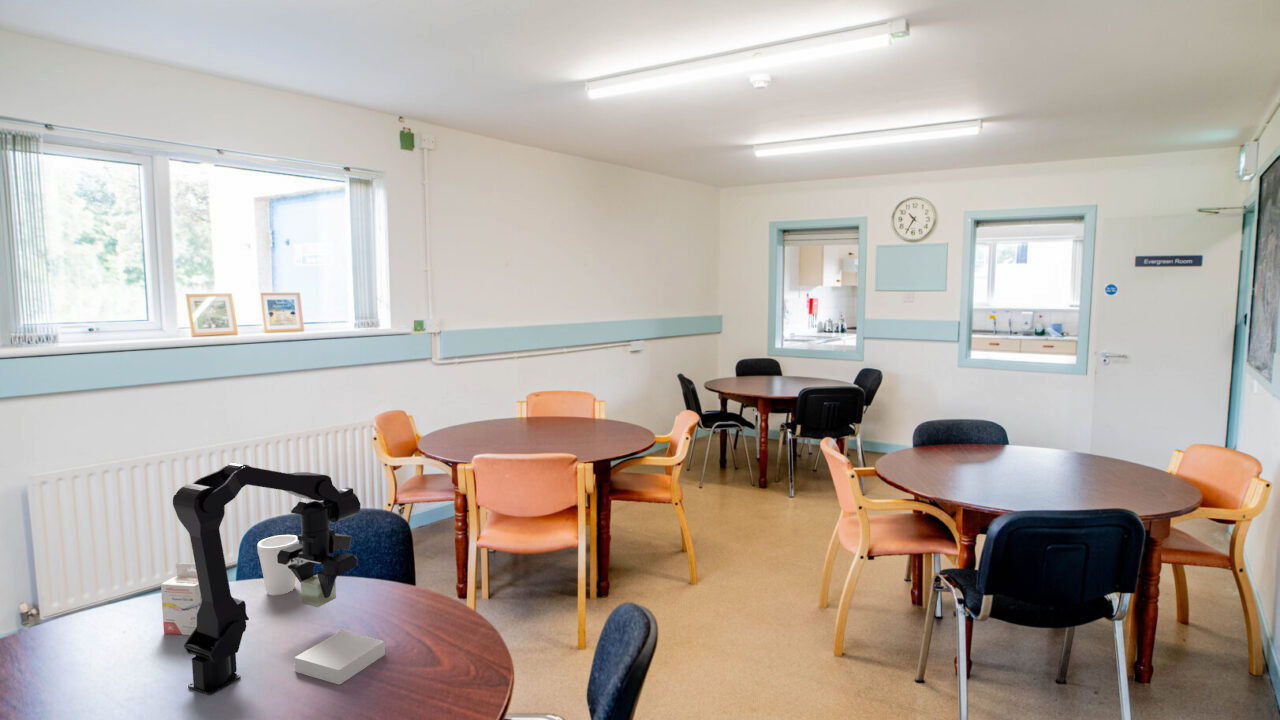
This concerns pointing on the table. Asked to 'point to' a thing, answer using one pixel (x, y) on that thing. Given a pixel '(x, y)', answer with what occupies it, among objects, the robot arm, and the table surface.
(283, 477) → the robot arm
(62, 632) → the table surface
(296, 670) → the white block
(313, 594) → the sage cube
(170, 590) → the ink cartridge box
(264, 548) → the foam cup
